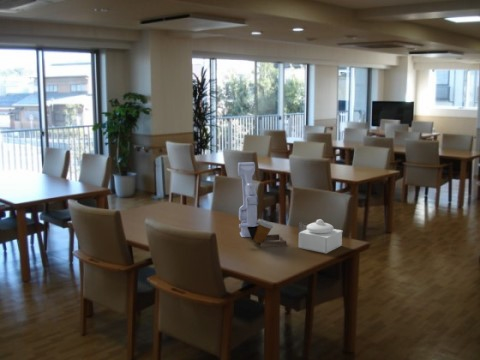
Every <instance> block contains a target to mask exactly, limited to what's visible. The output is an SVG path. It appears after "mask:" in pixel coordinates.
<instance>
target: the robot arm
mask: <svg viewBox="0 0 480 360" xmlns="http://www.w3.org/2000/svg"><path fill="white" fill-rule="evenodd" d="M255 172H256V163H255V162H254V161H248V162H247V161H246V162H238V163H237V175H238V177H240V178H241V184H242V186H241V187H242V202H243V204H242V205H241V206H240V207H239V208H238V220H239V221H240V222H241V223H239V224H238V228H239V229H240V232H239V235H240V236H241V237H242V238H250V240H251V241H254V240H253V237H254V234H255V232H256V230H257V228H256V227H257V226H259V224H257V221H258V205H259V197H258V194H257V191H256V186H255V184H253V176H254V175H255Z"/></svg>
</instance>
